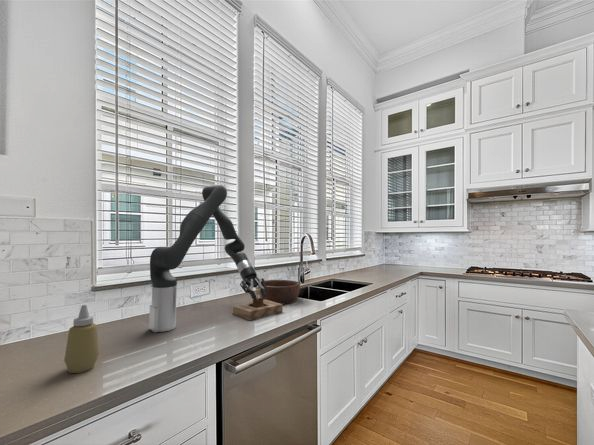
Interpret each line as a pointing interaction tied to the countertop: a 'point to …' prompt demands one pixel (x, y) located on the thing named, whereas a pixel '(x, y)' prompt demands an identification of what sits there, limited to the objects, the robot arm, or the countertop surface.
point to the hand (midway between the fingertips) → (260, 297)
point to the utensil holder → (257, 300)
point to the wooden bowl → (281, 291)
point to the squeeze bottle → (82, 343)
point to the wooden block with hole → (257, 310)
